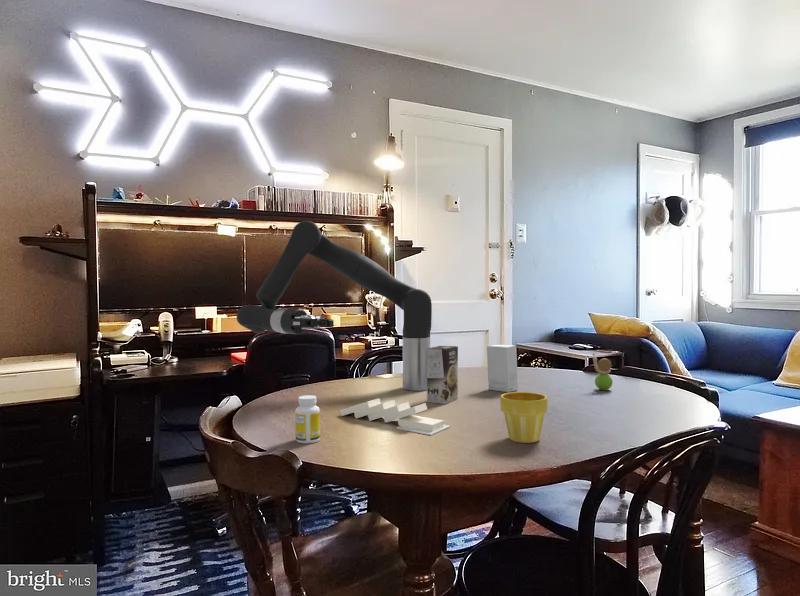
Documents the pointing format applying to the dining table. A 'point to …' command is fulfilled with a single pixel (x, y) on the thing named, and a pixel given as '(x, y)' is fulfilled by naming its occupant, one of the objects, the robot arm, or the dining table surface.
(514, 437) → the plant pot
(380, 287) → the robot arm
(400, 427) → the felt pad
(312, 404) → the supplement bottle
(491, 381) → the skincare box
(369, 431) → the dining table surface
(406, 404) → the domino
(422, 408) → the domino
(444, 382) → the coffee box
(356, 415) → the domino
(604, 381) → the snail figurine
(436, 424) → the domino
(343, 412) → the domino
